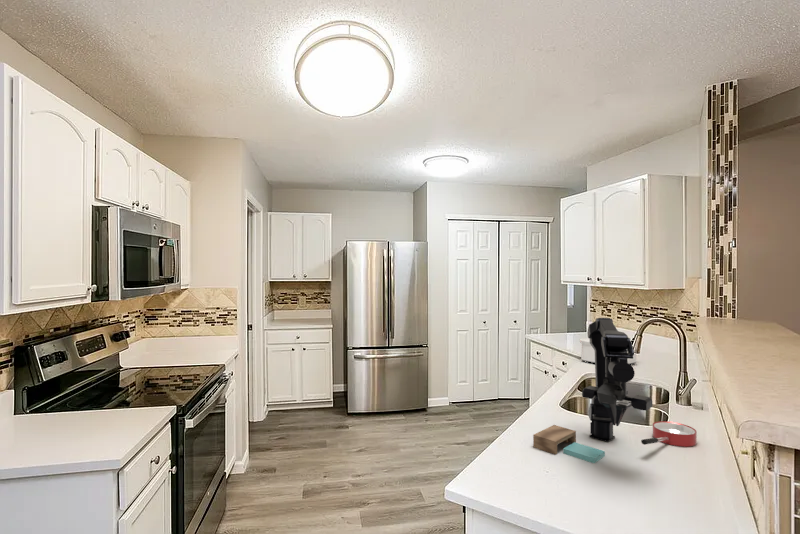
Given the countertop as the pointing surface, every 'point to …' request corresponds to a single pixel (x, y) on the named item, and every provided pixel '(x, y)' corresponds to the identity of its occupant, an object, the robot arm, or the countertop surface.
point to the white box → (589, 352)
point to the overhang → (553, 438)
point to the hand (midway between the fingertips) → (616, 425)
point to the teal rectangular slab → (584, 452)
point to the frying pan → (672, 434)
